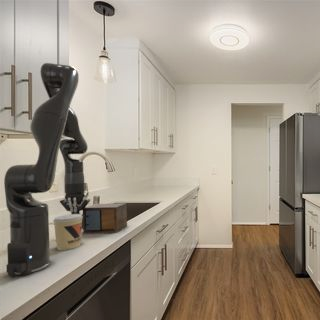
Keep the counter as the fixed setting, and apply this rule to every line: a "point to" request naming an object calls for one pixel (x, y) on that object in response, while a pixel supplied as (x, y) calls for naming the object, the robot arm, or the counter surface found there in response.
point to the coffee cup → (68, 231)
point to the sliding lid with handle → (91, 220)
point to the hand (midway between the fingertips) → (75, 219)
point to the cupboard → (109, 217)
